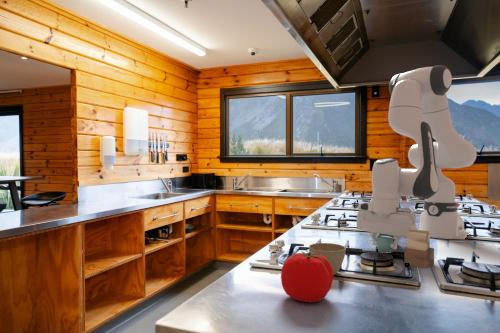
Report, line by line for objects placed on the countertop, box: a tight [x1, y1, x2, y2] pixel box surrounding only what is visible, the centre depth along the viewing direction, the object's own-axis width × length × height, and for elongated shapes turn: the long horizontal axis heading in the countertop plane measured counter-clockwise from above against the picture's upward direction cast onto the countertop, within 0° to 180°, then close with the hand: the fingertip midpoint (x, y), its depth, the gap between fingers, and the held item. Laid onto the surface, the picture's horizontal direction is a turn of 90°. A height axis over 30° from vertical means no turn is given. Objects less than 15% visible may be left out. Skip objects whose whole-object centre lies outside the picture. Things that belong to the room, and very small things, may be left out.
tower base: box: [403, 246, 435, 269], centre depth 105 cm, size 6×6×5 cm
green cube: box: [376, 235, 394, 253], centre depth 119 cm, size 5×5×5 cm
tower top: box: [406, 228, 431, 251], centre depth 105 cm, size 5×5×5 cm
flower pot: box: [308, 242, 347, 276], centre depth 97 cm, size 10×10×7 cm
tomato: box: [280, 250, 334, 303], centre depth 79 cm, size 12×12×10 cm
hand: (384, 247), depth 119 cm, fingers closed on green cube, 5 cm apart
